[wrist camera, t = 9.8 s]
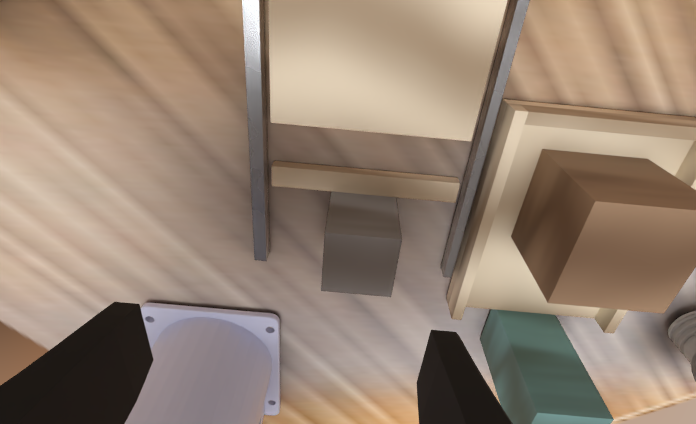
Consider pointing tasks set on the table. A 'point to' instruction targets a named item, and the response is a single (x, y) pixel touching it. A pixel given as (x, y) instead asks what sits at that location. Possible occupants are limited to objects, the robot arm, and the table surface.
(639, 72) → the table surface
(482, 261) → the cream sliding tray
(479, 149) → the lane rails
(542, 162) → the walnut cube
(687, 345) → the light bulb
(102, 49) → the table surface
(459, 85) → the cream flat panel
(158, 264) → the table surface
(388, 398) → the table surface
